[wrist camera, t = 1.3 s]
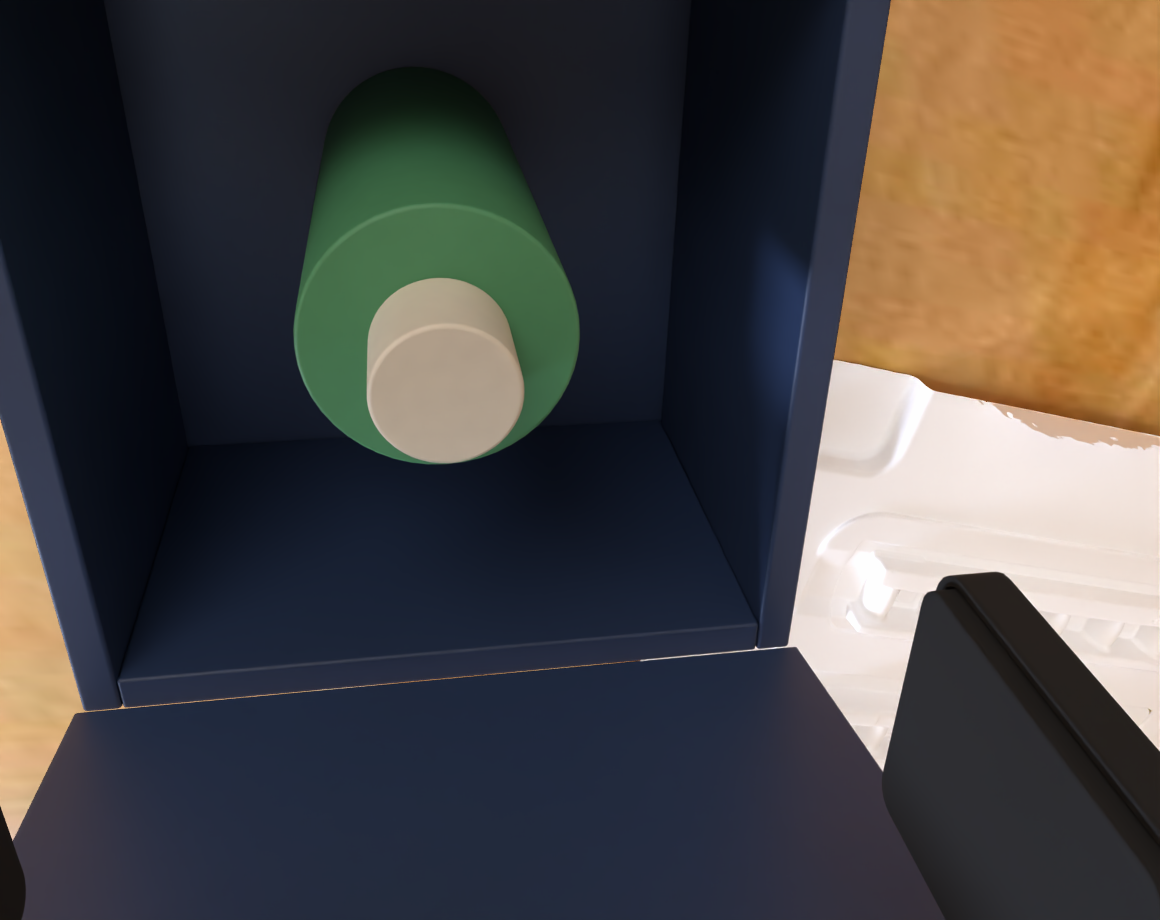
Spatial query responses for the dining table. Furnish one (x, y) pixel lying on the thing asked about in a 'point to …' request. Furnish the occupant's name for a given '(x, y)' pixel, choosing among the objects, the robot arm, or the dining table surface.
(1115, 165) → the dining table surface
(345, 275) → the bottle
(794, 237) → the navy storage box
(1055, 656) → the robot arm
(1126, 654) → the tray
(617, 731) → the navy door with handle
